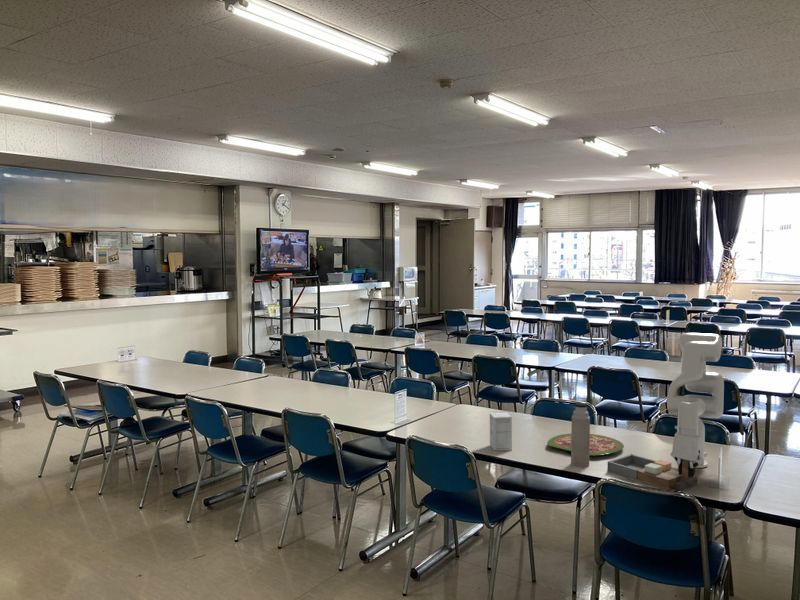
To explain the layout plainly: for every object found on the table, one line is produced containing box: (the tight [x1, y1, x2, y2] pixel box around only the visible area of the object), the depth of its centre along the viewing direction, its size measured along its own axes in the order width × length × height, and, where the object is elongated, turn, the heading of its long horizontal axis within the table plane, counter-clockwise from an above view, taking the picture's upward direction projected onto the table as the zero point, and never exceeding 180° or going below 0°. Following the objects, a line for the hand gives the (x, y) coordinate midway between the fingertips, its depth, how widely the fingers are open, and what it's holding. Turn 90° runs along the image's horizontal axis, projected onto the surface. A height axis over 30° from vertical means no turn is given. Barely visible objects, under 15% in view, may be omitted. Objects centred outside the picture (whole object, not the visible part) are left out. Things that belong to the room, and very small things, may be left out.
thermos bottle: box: [570, 402, 591, 469], centre depth 284 cm, size 8×8×28 cm
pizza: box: [546, 433, 625, 457], centre depth 312 cm, size 35×35×2 cm
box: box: [606, 453, 657, 481], centre depth 275 cm, size 18×14×4 cm
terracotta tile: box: [654, 459, 672, 471], centre depth 268 cm, size 5×5×2 cm
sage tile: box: [645, 463, 662, 474], centre depth 264 cm, size 5×5×2 cm
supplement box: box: [489, 412, 513, 451], centre depth 310 cm, size 10×9×17 cm
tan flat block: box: [636, 466, 682, 491], centre depth 264 cm, size 16×14×4 cm
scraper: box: [674, 459, 698, 492], centre depth 256 cm, size 14×2×14 cm, turn 127°
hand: (686, 475), depth 256 cm, fingers open, 3 cm apart
